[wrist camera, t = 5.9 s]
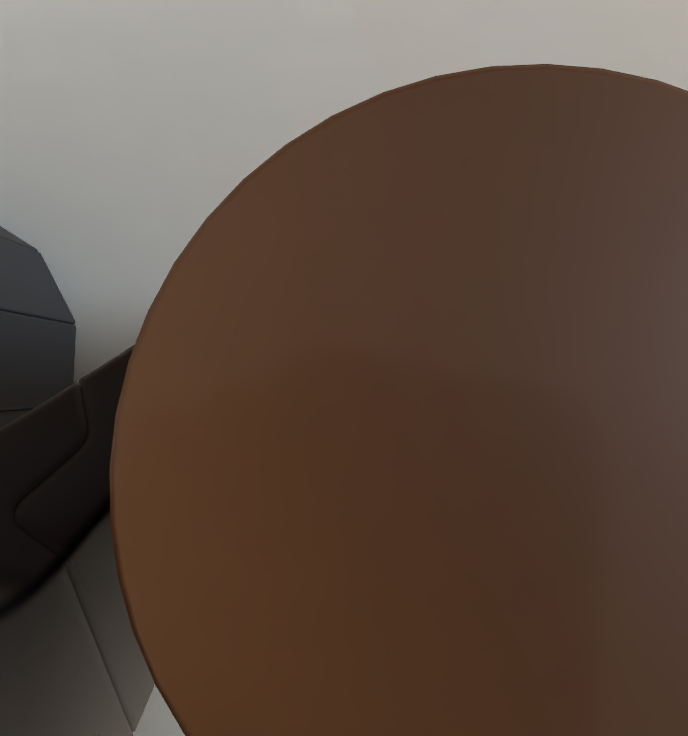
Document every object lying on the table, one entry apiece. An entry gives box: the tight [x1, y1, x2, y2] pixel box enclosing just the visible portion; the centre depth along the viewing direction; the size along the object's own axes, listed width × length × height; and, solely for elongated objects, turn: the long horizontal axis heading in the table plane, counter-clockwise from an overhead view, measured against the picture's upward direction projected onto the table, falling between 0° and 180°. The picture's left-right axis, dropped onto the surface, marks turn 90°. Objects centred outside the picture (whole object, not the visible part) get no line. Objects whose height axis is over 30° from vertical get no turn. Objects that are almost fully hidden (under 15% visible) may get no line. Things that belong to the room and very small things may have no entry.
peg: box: [110, 64, 688, 736], centre depth 9 cm, size 4×4×12 cm
